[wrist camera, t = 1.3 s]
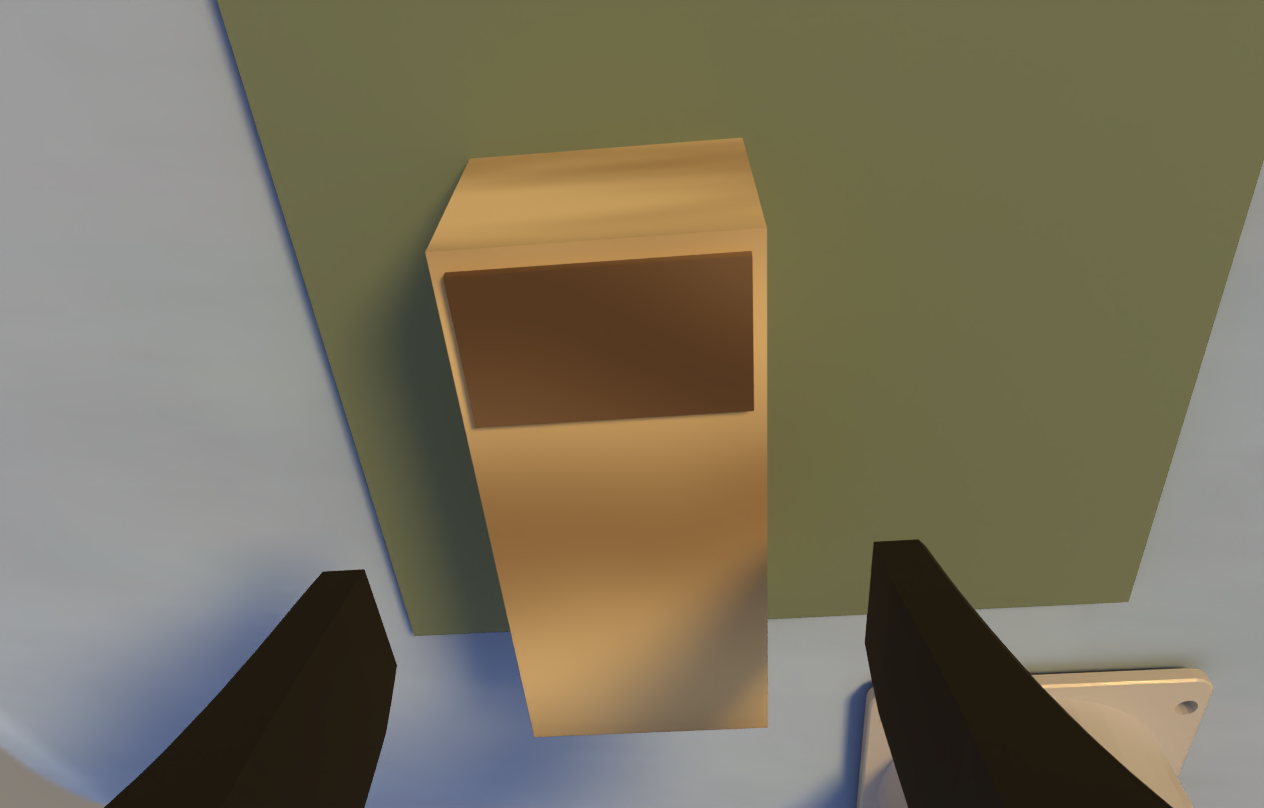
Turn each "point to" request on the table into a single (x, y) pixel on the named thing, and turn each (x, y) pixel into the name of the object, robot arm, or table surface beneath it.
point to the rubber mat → (808, 253)
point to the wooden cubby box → (618, 425)
